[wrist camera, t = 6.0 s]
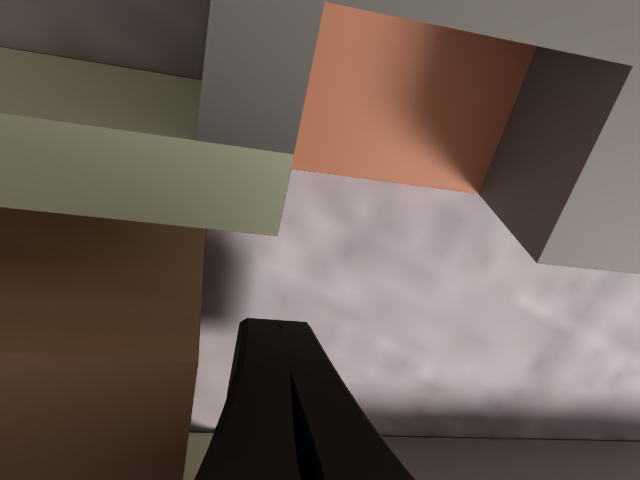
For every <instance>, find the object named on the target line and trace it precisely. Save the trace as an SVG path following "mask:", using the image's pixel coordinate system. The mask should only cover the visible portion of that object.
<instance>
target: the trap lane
mask: <svg viewBox="0 0 640 480" xmlns="http://www.w3.org/2000/svg"><path fill="white" fill-rule="evenodd" d="M291 169H297V170H304V171H312V172H319V173H327V174H334V175H341V176H349V177H356V178H364V179H371V180H379V181H386V182H394V183H401V184H409V185H416V186H423V187H431V188H438V189H446V190H453V191H461V192H468V193H476V194H479V195H480V196H481V197H482V198H483V200H484V201H485V202H486V203H487V204H488V206H489V207H490V208H491V209H492V210H493V212H494V213H495V214H496V215H497V216H498V217H499V219H500V220H501V221H502V222H503V223H504V225H505V226H506V227H507V228H508V229H509V231H510V232H511V233H512V234H513V235H514V236H515V238H516V239H517V240H518V241H519V242H520V244H521V245H522V246H523V247H524V248H525V250H526V251H527V252H528V253H529V254H530V256H531V257H532V258H533V259H534V260H535V261H536V263H539V264H549V265H558V266H568V267H577V268H587V269H596V270H606V271H616V272H625V273H635V274H640V0H210V9H209V18H208V28H207V38H206V47H205V57H204V66H203V76H202V80H197V79H191V78H185V77H179V76H173V75H167V74H160V73H154V72H148V71H142V70H136V69H130V68H124V67H118V66H112V65H106V64H100V63H94V62H88V61H82V60H76V59H70V58H64V57H58V56H52V55H46V54H40V53H34V52H28V51H22V50H16V49H10V48H4V47H0V207H4V208H14V209H23V210H33V211H43V212H52V213H62V214H71V215H81V216H90V217H100V218H109V219H119V220H128V221H138V222H148V223H157V224H167V225H176V226H186V227H195V228H205V229H214V230H224V231H234V232H243V233H253V234H262V235H272V236H278V232H279V227H280V222H281V217H282V212H283V207H284V202H285V197H286V192H287V187H288V182H289V177H290V172H291ZM213 434H214V433H189V437H188V445H187V453H186V460H185V468H184V476H183V480H194V478H195V476H196V474H197V472H198V470H199V468H200V465H201V463H202V461H203V458H204V456H205V454H206V452H207V449H208V447H209V444H210V442H211V439H212V437H213ZM381 437H382V438H383V440H384V441H385V442H386V443H387V445H388V446H389V447H390V449H391V450H392V451H393V453H394V454H395V455H396V457H397V458H398V459H399V460H400V462H401V463H402V464H403V465H404V466H405V468H406V469H407V470H408V471H409V473H410V474H411V475H412V476H413V477H414V479H415V480H640V442H629V441H580V440H531V439H482V438H433V437H383V436H381Z"/></svg>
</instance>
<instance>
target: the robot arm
mask: <svg viewBox="0 0 640 480" xmlns="http://www.w3.org/2000/svg"><path fill="white" fill-rule="evenodd" d="M194 480H415V479H414V477H413V476H412V475H411V474H410V473H409V471H408V470H407V469H406V468H405V466H404V465H403V464H402V463H401V462H400V460H399V459H398V458H397V457H396V455H395V454H394V453H393V451H392V450H391V449H390V447H389V446H388V445H387V443H386V442H385V441H384V440H383V438H382V437H381V436H380V434H379V433H378V432H377V430H376V429H375V427H374V426H373V425H372V423H371V422H370V421H369V419H368V418H367V416H366V415H365V413H364V412H363V410H362V409H361V408H360V406H359V405H358V403H357V402H356V400H355V399H354V397H353V396H352V394H351V393H350V391H349V390H348V388H347V387H346V385H345V384H344V382H343V381H342V379H341V377H340V376H339V374H338V373H337V371H336V369H335V368H334V366H333V365H332V363H331V361H330V360H329V358H328V356H327V355H326V353H325V351H324V350H323V348H322V346H321V344H320V343H319V341H318V339H317V338H316V336H315V334H314V332H313V330H312V329H311V327H310V326H309V325H308V323H307V322H297V321H283V320H268V319H254V318H246V319H245V320H243V321H241V322H240V324H239V330H238V335H237V341H236V347H235V352H234V358H233V363H232V369H231V375H230V380H229V386H228V392H227V399H226V402H225V405H224V408H223V411H222V413H221V416H220V419H219V421H218V424H217V426H216V429H215V431H214V434H213V437H212V439H211V442H210V444H209V447H208V449H207V452H206V454H205V456H204V458H203V461H202V463H201V465H200V468H199V470H198V472H197V474H196V476H195V478H194Z"/></svg>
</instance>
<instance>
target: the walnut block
mask: <svg viewBox="0 0 640 480" xmlns="http://www.w3.org/2000/svg"><path fill="white" fill-rule="evenodd" d="M205 231H206V229H205V228H195V227H186V226H176V225H167V224H157V223H148V222H138V221H128V220H119V219H109V218H100V217H90V216H81V215H71V214H62V213H52V212H43V211H33V210H23V209H14V208H4V207H0V480H183V476H184V468H185V460H186V453H187V445H188V437H189V429H190V422H191V414H192V406H193V399H194V391H195V383H196V375H197V368H198V357H199V339H200V321H201V303H202V285H203V267H204V249H205Z"/></svg>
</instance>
